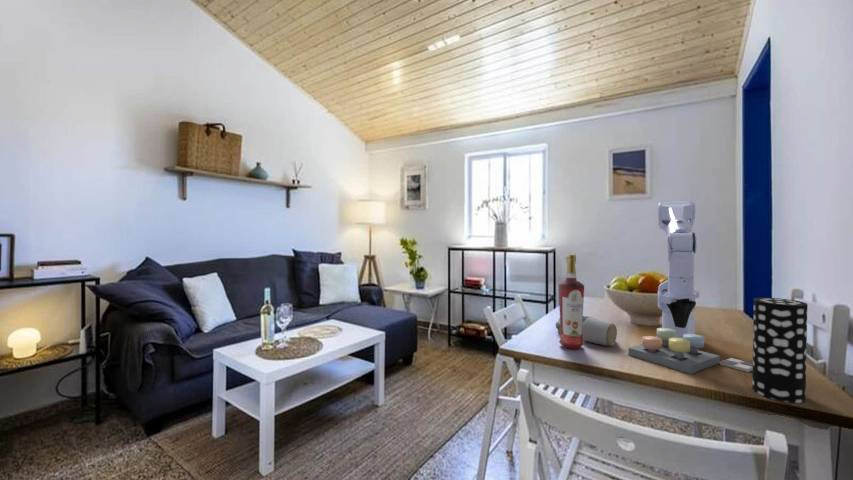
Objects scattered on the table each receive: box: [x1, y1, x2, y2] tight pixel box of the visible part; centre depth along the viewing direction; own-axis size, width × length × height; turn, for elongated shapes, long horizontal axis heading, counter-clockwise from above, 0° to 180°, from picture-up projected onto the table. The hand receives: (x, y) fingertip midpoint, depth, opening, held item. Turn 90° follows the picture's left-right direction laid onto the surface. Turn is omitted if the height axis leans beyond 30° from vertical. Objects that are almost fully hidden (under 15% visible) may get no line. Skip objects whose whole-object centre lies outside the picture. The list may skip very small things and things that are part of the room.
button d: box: [669, 338, 690, 360], centre depth 97 cm, size 5×5×5 cm
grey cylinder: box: [582, 316, 618, 347], centre depth 117 cm, size 11×8×8 cm
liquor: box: [557, 254, 585, 350], centre depth 112 cm, size 7×7×28 cm
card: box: [719, 357, 753, 373], centre depth 96 cm, size 6×6×1 cm
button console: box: [628, 343, 720, 375], centre depth 101 cm, size 14×16×2 cm
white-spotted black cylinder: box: [751, 297, 809, 404], centre depth 80 cm, size 8×8×20 cm
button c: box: [641, 335, 662, 353], centre depth 103 cm, size 5×5×5 cm
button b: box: [683, 333, 705, 355], centre depth 100 cm, size 5×5×5 cm
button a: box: [656, 327, 676, 348], centre depth 106 cm, size 5×5×5 cm
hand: (680, 327), depth 101 cm, fingers closed
